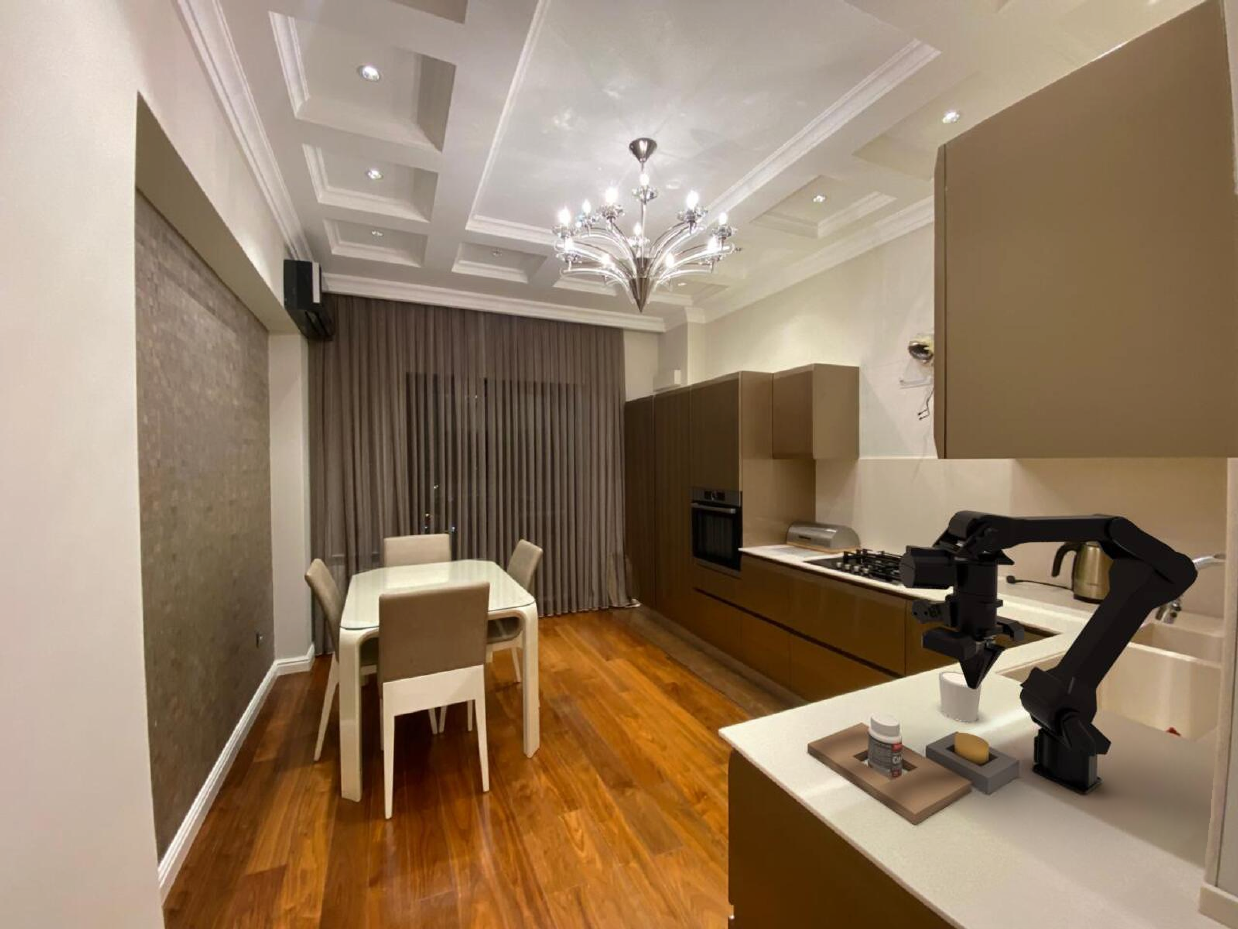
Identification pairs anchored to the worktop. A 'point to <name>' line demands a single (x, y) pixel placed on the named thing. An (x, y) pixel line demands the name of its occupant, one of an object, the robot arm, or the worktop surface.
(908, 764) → the brown wooden rectangular frame
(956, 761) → the button collar
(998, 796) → the worktop surface
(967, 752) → the button
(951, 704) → the white cup
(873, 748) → the pill bottle
